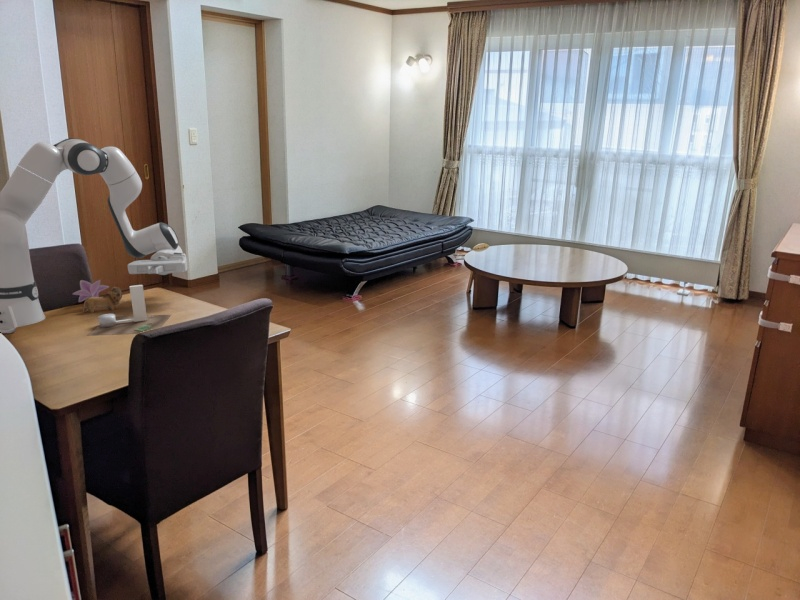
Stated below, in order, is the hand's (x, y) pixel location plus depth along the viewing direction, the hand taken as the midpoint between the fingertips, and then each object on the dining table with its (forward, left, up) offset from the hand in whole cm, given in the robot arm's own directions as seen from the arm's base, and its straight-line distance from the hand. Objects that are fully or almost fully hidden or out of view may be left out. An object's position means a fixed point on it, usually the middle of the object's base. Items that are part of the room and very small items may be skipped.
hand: (152, 271), depth 210 cm
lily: (-28, +16, -15) cm, 36 cm away
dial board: (-3, -17, -15) cm, 23 cm away
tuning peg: (-6, -16, -13) cm, 22 cm away
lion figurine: (-19, +1, -15) cm, 24 cm away
